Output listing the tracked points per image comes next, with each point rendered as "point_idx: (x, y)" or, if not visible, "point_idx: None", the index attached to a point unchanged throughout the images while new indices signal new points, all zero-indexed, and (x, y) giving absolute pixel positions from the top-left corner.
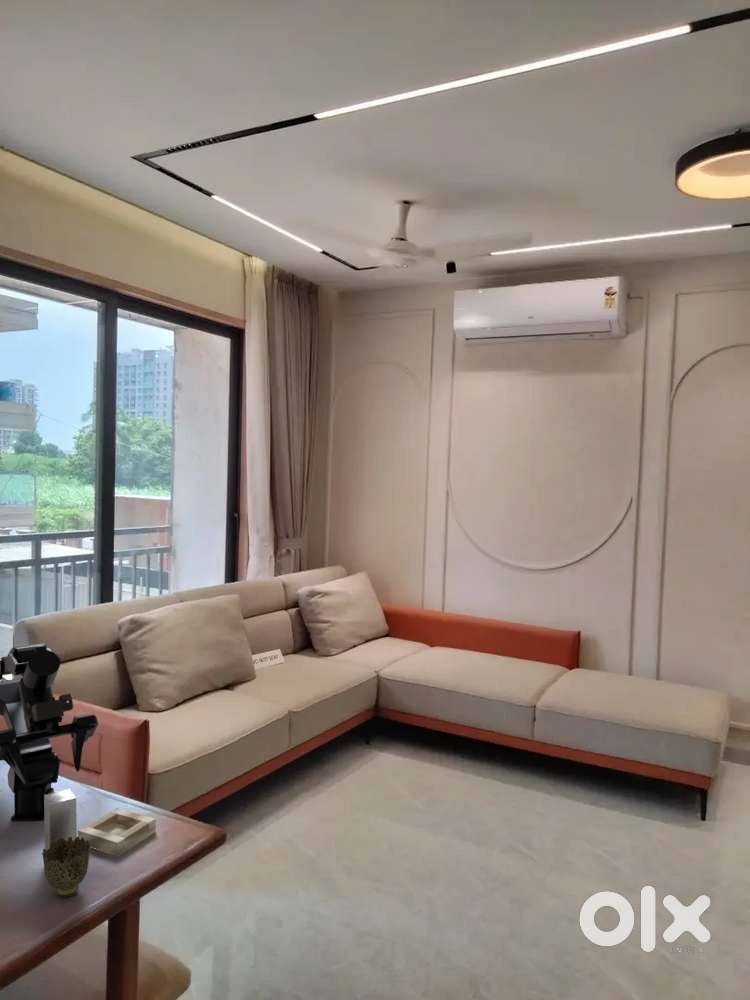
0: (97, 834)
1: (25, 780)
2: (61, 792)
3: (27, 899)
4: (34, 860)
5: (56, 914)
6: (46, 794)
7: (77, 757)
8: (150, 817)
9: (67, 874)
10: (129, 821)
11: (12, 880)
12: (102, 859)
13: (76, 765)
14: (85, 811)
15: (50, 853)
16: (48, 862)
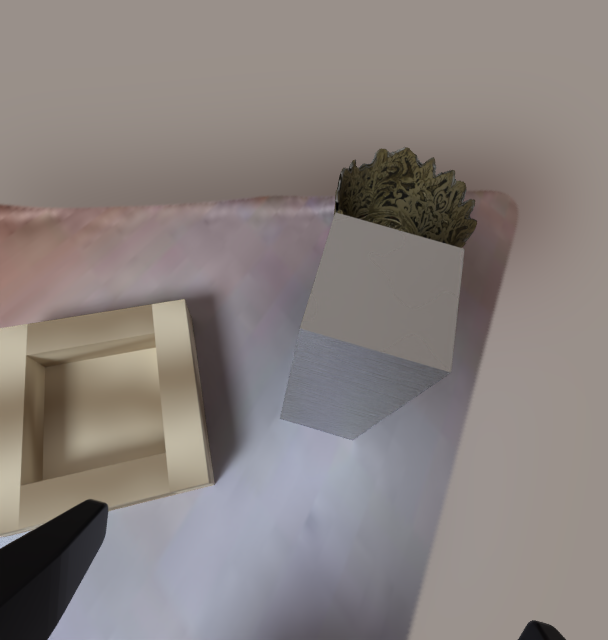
0: (186, 394)
1: (555, 633)
2: (361, 322)
3: None
4: (363, 497)
5: None
6: (438, 365)
7: (8, 584)
8: None
9: (410, 194)
10: (32, 420)
11: (450, 437)
12: (227, 338)
13: (78, 551)
14: None
15: None
16: (463, 203)
